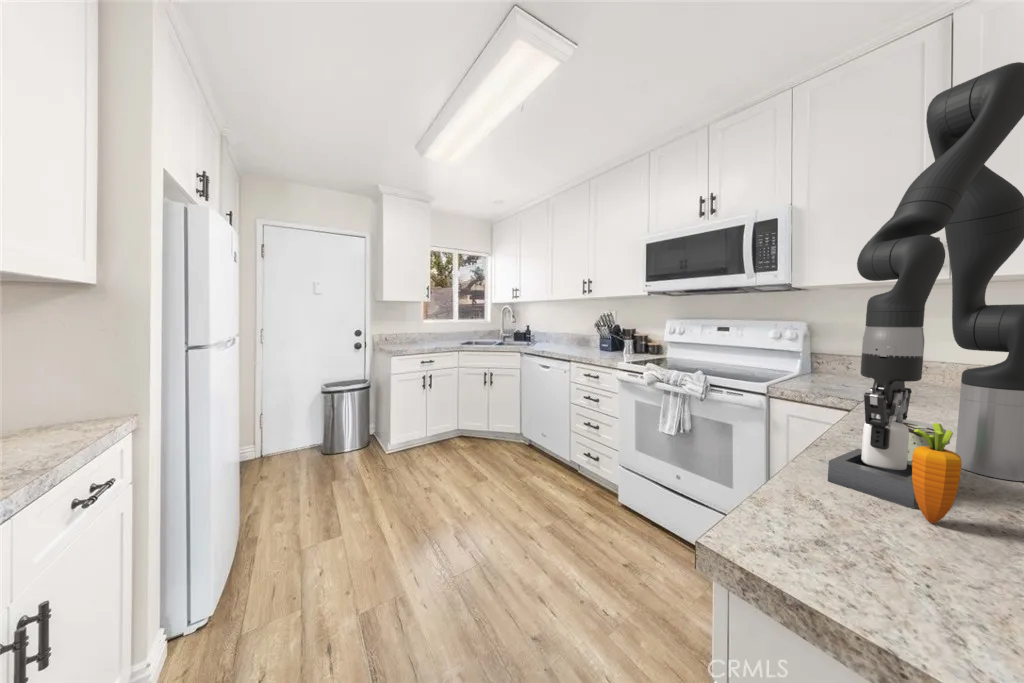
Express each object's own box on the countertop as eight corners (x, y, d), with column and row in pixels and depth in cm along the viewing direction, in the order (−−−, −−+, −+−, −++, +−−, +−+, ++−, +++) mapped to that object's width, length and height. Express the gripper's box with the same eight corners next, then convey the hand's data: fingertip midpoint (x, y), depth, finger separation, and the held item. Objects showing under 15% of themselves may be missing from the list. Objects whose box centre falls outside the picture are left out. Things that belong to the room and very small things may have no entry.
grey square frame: (856, 467, 73) (858, 448, 73) (938, 490, 63) (940, 468, 63) (827, 481, 67) (828, 460, 66) (913, 508, 57) (915, 484, 57)
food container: (969, 489, 64) (973, 434, 63) (934, 488, 64) (938, 434, 63) (896, 461, 76) (899, 415, 75) (866, 461, 76) (869, 415, 75)
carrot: (944, 535, 50) (953, 431, 49) (898, 516, 55) (905, 421, 54) (966, 530, 51) (975, 428, 50) (919, 512, 56) (926, 419, 55)
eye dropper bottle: (865, 458, 68) (869, 396, 67) (908, 468, 63) (913, 402, 63) (858, 463, 66) (862, 399, 65) (902, 474, 61) (907, 405, 60)
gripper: (878, 349, 70) (872, 434, 71) (846, 352, 63) (840, 445, 64) (936, 352, 63) (928, 445, 64) (907, 356, 57) (899, 460, 58)
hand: (884, 445), depth 64 cm, fingers closed on eye dropper bottle, 4 cm apart
